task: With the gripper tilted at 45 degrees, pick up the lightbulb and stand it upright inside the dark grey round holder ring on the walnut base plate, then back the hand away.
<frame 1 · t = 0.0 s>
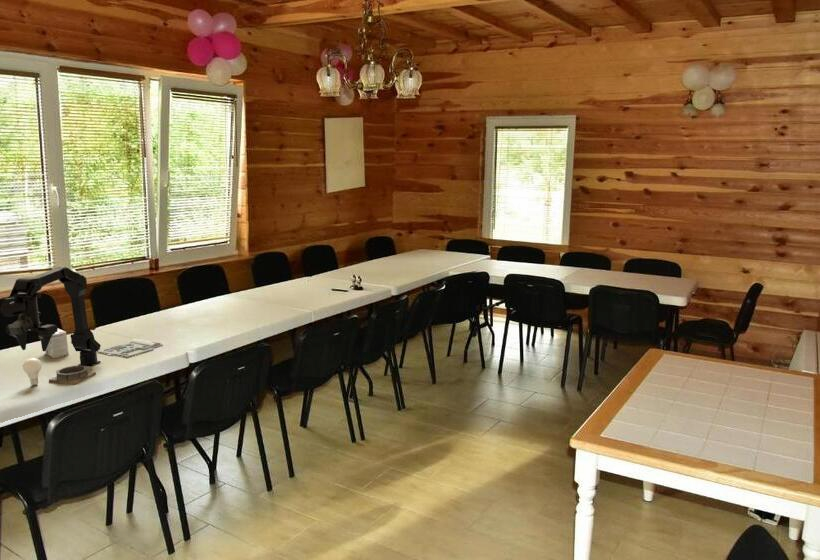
hand: (34, 350, 248), 15 cm above the table, tool pointing down, fingers open, 9 cm apart
lightbulb: (34, 385, 252), on the table
grey openwork panel: (133, 350, 300), on the table
bulb holder: (72, 378, 260), on the table
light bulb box: (57, 354, 293), on the table
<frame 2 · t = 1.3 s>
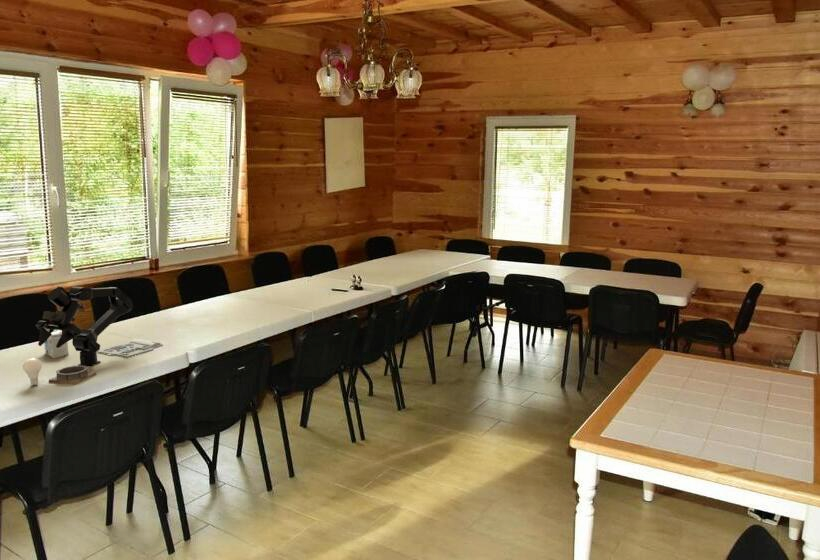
hand: (48, 346, 257), 13 cm above the table, tool tilted 45°, fingers open, 9 cm apart
nothing on the table moved.
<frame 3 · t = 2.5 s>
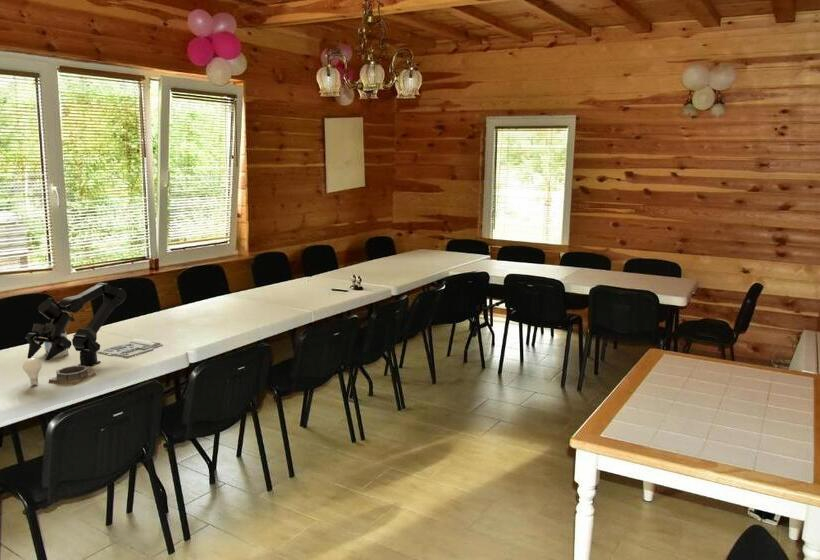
hand: (37, 359, 253), 10 cm above the table, tool tilted 45°, fingers open, 9 cm apart
nothing on the table moved.
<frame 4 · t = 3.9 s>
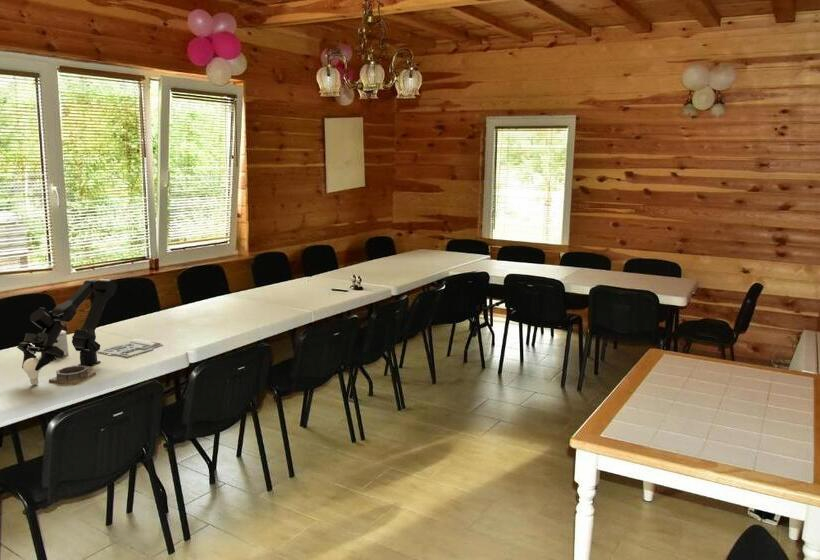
hand: (29, 369, 250), 7 cm above the table, tool tilted 45°, fingers closed on lightbulb, 6 cm apart
lightbulb: (34, 385, 252), on the table, touching gripper
everything else where it was.
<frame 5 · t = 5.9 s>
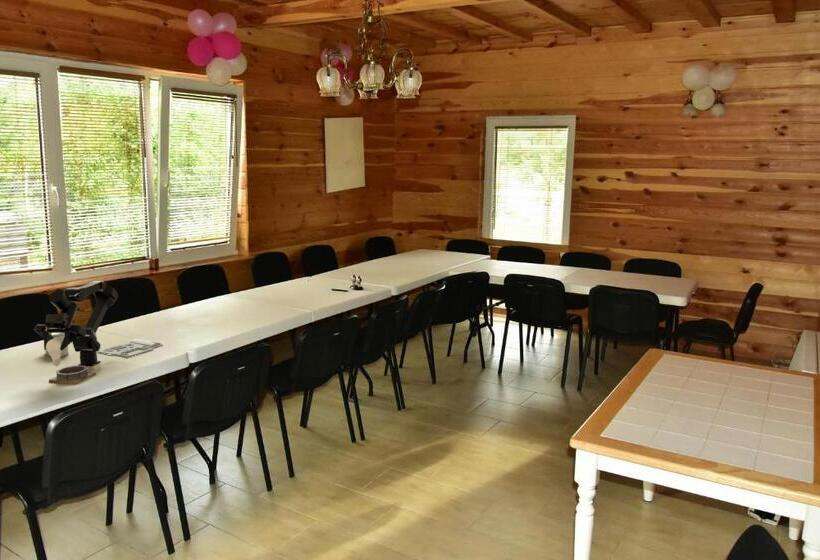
hand: (53, 350, 253), 13 cm above the table, tool tilted 45°, fingers closed on lightbulb, 6 cm apart
lightbulb: (56, 366, 255), point 6 cm above the table, touching gripper
everything else where it was.
when the fingers open (9 cm above the table, at t = 7.7 s): lightbulb drops 1 cm, resting on bulb holder.
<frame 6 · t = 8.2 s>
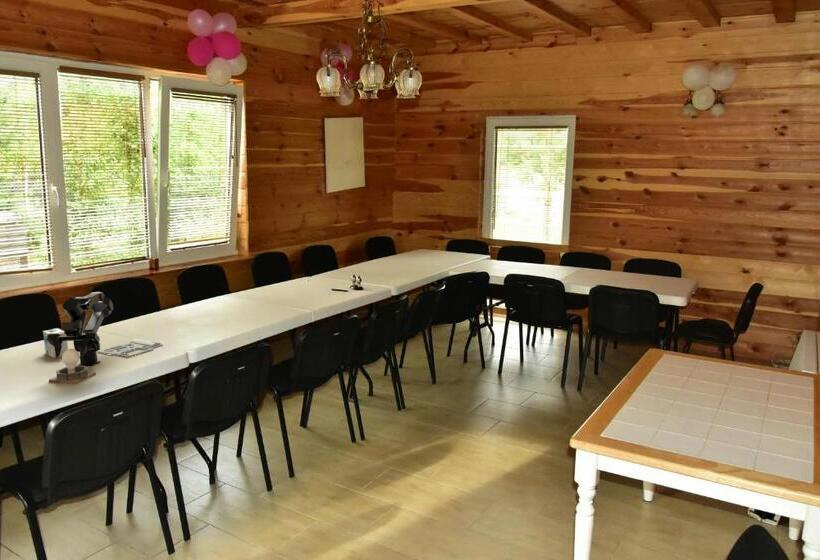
hand: (69, 357, 257), 9 cm above the table, tool tilted 45°, fingers open, 9 cm apart
lightbulb: (71, 376, 260), point 1 cm above the table, touching bulb holder
everything else where it was.
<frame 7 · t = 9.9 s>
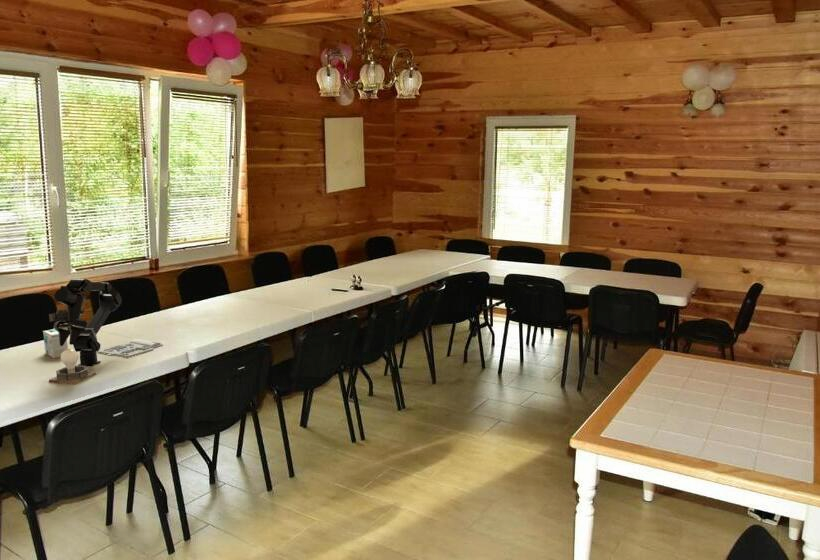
hand: (66, 345, 263), 12 cm above the table, tool tilted 25°, fingers open, 9 cm apart
nothing on the table moved.
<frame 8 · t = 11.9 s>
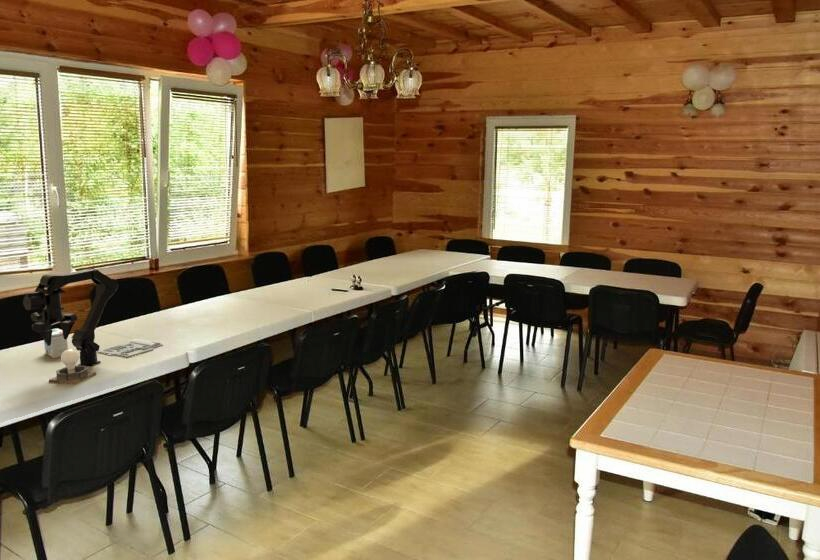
hand: (57, 342, 264), 13 cm above the table, tool pointing down, fingers open, 9 cm apart
nothing on the table moved.
at the end: lightbulb 0.4 cm off-centre on the bulb holder, point 0.8 cm above the bulb holder's base; lightbulb tilted 0°; the gripper is holding nothing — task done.
